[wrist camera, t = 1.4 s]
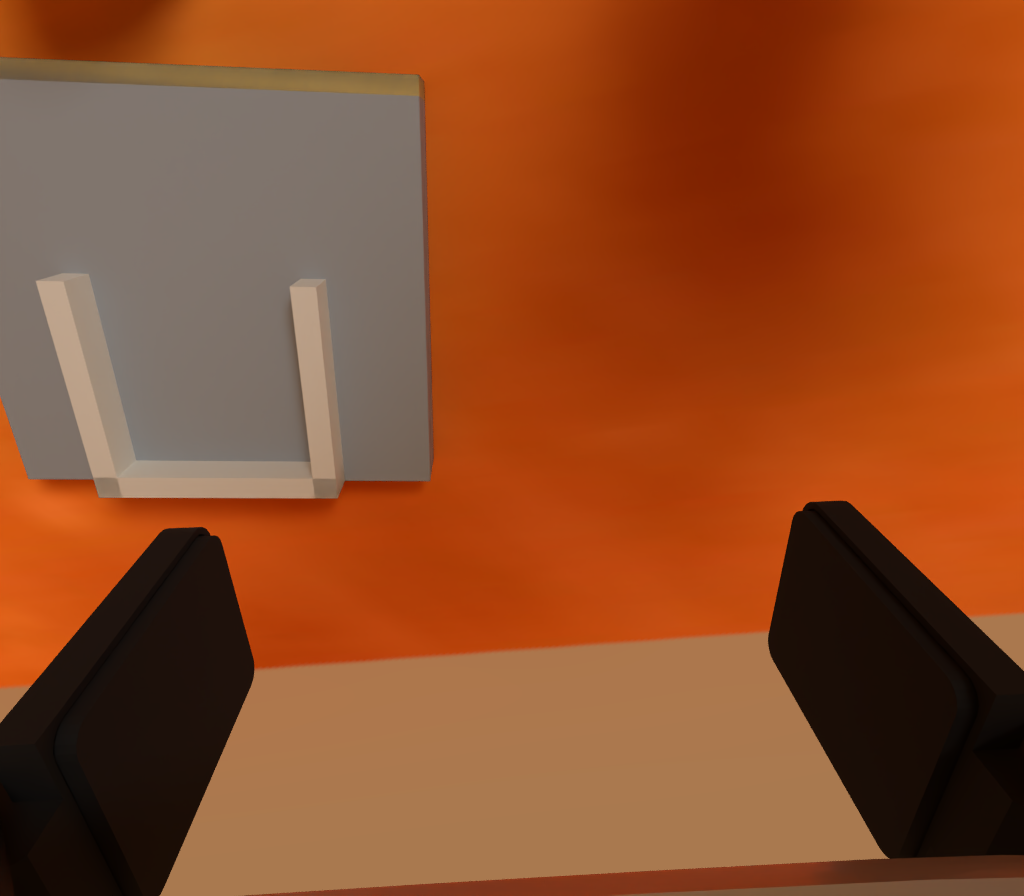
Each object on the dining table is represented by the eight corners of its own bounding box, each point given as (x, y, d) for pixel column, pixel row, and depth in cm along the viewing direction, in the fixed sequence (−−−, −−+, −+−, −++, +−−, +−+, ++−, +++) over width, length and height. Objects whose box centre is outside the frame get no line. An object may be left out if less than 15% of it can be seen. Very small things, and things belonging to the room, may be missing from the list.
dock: (-61, 62, 28) (-164, 44, 24) (424, 82, 30) (414, 68, 25) (61, 455, 37) (3, 497, 32) (433, 457, 38) (427, 498, 34)
